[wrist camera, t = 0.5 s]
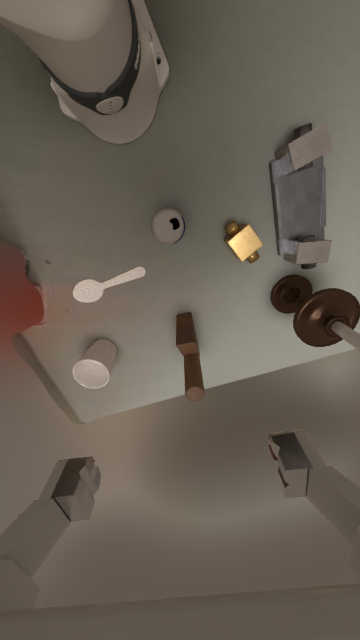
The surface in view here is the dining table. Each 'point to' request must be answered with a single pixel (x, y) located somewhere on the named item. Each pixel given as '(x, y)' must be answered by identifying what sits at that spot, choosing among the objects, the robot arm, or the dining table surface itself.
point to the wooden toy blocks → (189, 356)
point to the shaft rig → (301, 197)
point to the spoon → (103, 285)
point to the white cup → (96, 364)
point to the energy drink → (168, 226)
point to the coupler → (242, 241)
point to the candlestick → (318, 312)
